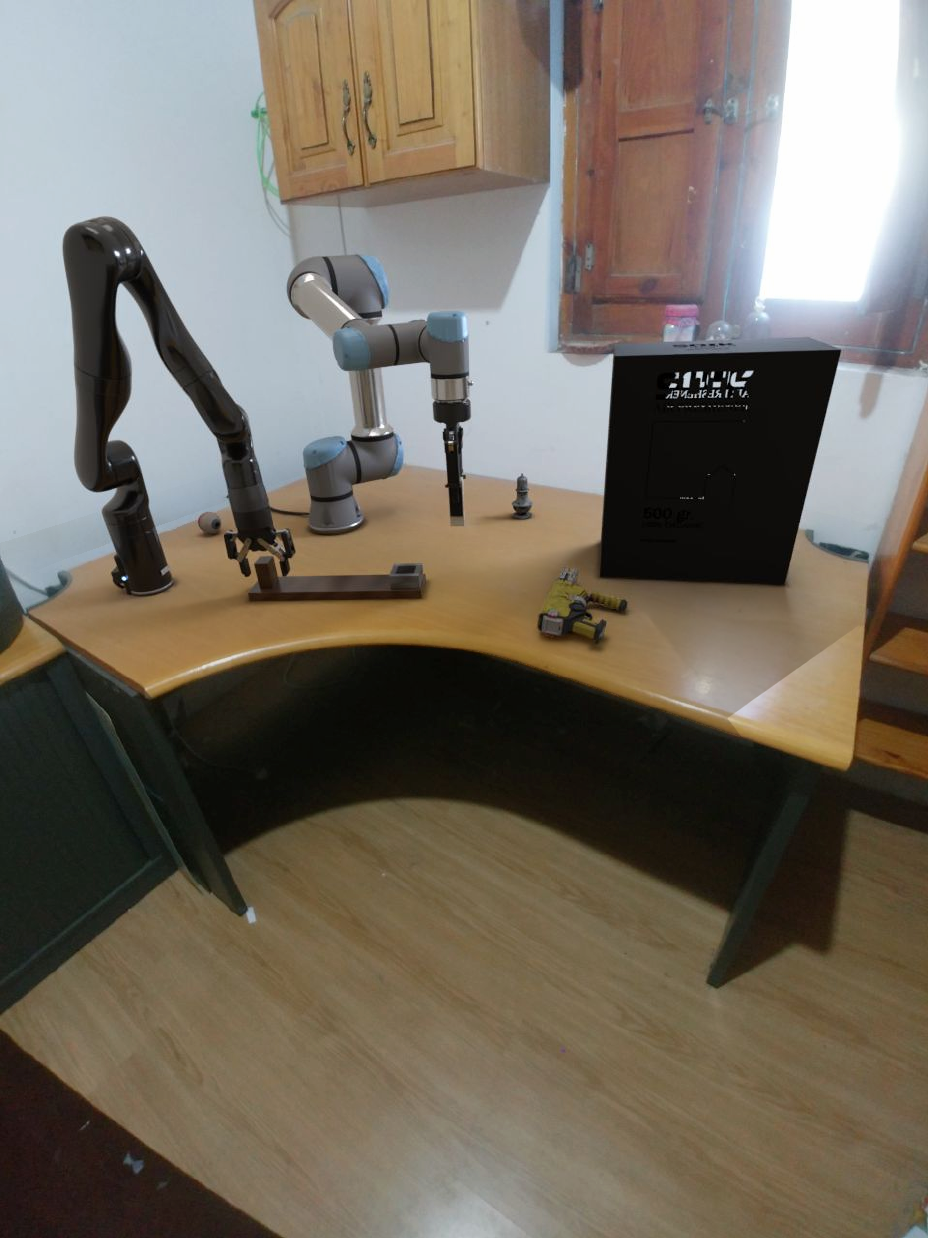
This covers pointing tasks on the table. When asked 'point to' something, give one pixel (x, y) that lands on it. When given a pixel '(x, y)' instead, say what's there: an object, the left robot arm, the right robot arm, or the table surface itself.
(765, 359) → the cardboard box
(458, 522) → the peg
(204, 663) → the table surface
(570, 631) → the toy gun
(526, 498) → the salt shaker
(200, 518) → the eyeball
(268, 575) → the peg board
